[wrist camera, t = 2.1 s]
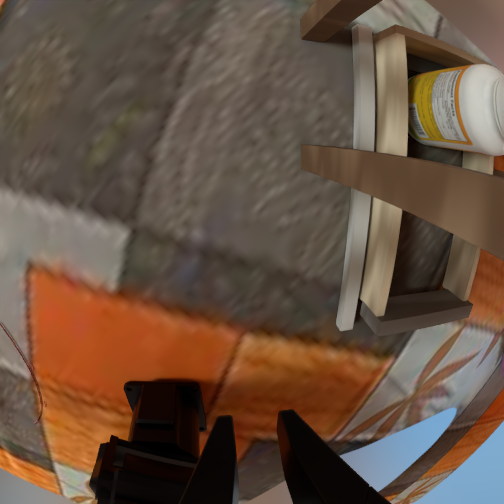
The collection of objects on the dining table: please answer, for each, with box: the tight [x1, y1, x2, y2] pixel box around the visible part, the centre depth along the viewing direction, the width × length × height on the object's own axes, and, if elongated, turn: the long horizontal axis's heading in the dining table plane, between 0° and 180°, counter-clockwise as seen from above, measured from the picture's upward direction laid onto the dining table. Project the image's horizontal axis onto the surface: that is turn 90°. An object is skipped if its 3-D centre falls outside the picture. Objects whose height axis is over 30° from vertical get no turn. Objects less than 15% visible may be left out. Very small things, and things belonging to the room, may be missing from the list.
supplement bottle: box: [408, 64, 504, 156], centre depth 13 cm, size 5×5×10 cm
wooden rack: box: [359, 24, 494, 337], centre depth 18 cm, size 20×9×4 cm, turn 0°
